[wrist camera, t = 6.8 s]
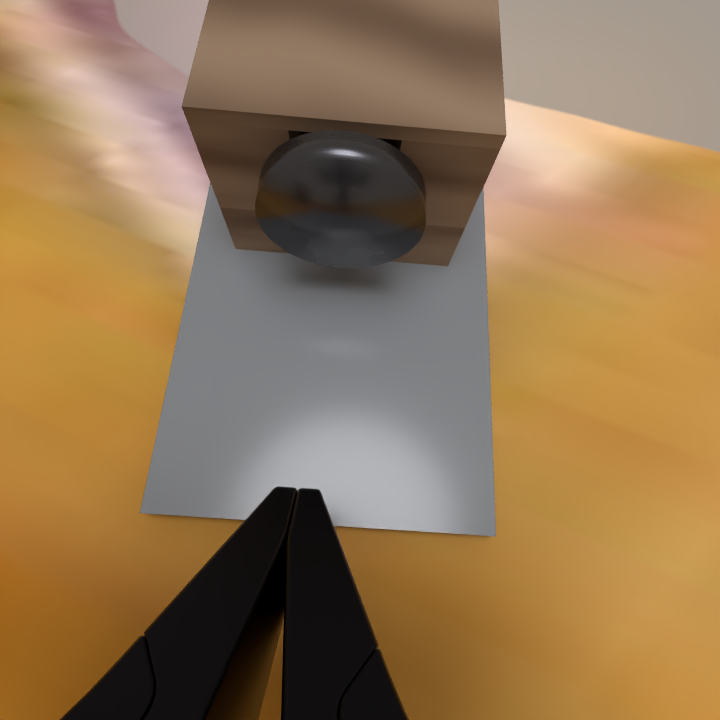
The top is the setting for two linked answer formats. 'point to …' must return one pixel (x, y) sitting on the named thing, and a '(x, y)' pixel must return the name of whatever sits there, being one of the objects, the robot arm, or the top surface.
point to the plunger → (341, 199)
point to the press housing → (350, 97)
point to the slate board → (330, 388)
